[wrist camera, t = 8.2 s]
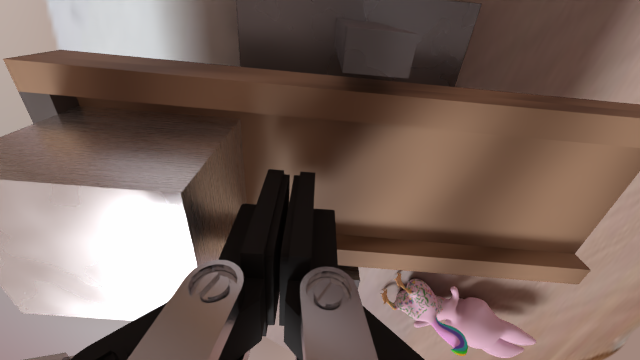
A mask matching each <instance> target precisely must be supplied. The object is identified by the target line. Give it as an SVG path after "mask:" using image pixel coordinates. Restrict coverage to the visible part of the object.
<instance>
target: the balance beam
mask: <svg viewBox="0 0 640 360" xmlns="http://www.w3.org/2000/svg"><path fill="white" fill-rule="evenodd" d="M3 60H4V62H5V64H6V66H7V68H8V70H9V72H10V75H11V77H12V79H13V81H14V83H15V85H16V87H17V90H18V92H19V94H20V96H21V98H22V100H23V102H24V104H25V106H26V108H27V111H28V113H29V115H30V117H31V119H32V121H33V123H34V124H35V123H37V122H40V121H42V120H45V119H47V118H50V117H52V116H55V115H57V114H60V113H63V112H65V111H68V110H70V109H73V108H75V107H78V106H88V107H101V108H113V109H126V110H138V111H150V112H163V113H175V114H188V115H200V116H212V117H225V118H237V119H240V123H241V135H242V148H243V161H244V174H245V187H246V200H247V204H257V201H258V198H259V195H260V192H261V189H262V186H263V183H264V180H265V177H266V175H267V172H268V169H274V170H284V174H287V175H290V190H289V201H290V195H291V190H292V184H293V178H294V175H300V171H301V172H314V173H315V192H314V209H328V210H334V211H335V223H336V241H337V259H338V265H343V266H355V267H368V268H380V269H393V270H405V271H418V272H430V273H443V274H455V275H468V276H480V277H493V278H505V279H518V280H530V281H543V282H555V283H568V284H579V283H580V282H581V281H582V280H583V279H584V277H585V276H586V275H587V274H588V273H589V272H590V269H589V268H588V267H587V266H586V265H585V264H584V263H583V262H582V261H581V260H580V259H579V258H578V257H577V256H576V255H575V253H576V251H577V250H578V249H579V248H580V246H581V245H582V244H583V243H584V241H585V240H586V239H587V237H588V236H589V235H590V234H591V232H592V231H593V230H594V229H595V227H596V226H597V225H598V223H599V222H600V221H601V220H602V218H603V217H604V216H605V215H606V213H607V212H608V211H609V209H610V208H611V207H612V206H613V204H614V203H615V202H616V201H617V199H618V198H619V197H620V196H621V194H622V193H623V192H624V190H625V189H626V188H627V187H628V185H629V184H630V183H631V182H632V180H633V179H634V178H635V176H636V175H637V174H638V173H639V171H640V105H639V104H629V103H618V102H607V101H597V100H586V99H576V98H565V97H554V96H544V95H533V94H523V93H512V92H501V91H491V90H480V89H470V88H459V87H448V86H438V85H427V84H417V83H406V82H396V81H385V80H374V79H364V78H353V77H343V76H332V75H321V74H311V73H300V72H290V71H279V70H268V69H258V68H247V67H237V66H226V65H215V64H205V63H194V62H184V61H173V60H163V59H152V58H141V57H131V56H120V55H110V54H99V53H88V52H78V51H67V50H57V51H50V52H44V53H37V54H31V55H25V56H18V57H12V58H6V59H3Z"/></svg>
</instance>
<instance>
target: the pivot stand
mask: <svg viewBox="0 0 640 360" xmlns="http://www.w3.org/2000/svg"><path fill="white" fill-rule="evenodd" d="M236 2H237V19H238V35H239V52H240V67H247V68H258V69H268V70H279V71H290V72H300V73H311V74H321V75H332V76H343V77H353V78H364V79H374V80H385V81H396V82H406V83H417V84H427V85H438V86H448V87H454V86H455V83H456V80H457V77H458V74H459V71H460V68H461V65H462V62H463V59H464V56H465V53H466V50H467V47H468V44H469V41H470V37H471V34H472V31H473V28H474V25H475V22H476V19H477V16H478V13H479V10H480V7H481V4H477V3H468V2H458V1H448V0H236ZM338 269H340V270H342V271H344V272H345V273H347V274H348V275H349V276H350V277H351V278H352V279H353V280H354V282H355V284H356V286H357V289H358V286H359V282H360V278H359V270H358V267H355V266H343V265H338Z"/></svg>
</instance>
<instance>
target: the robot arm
mask: <svg viewBox="0 0 640 360" xmlns="http://www.w3.org/2000/svg"><path fill="white" fill-rule="evenodd" d="M289 190H290V175H287V174H284V170H274V169H268V172H267V175H266V177H265V180H264V183H263V186H262V189H261V192H260V195H259V198H258V201H257V204H244V203H243V204H242V205H241V207H240V209H239V211H238V214H237V216H236V218H235V221H234V223H233V226H232V228H231V231H230V233H229V235H228V238H227V240H226V243H225V245H224V247H223V250H222V252H221V255H220V257H219V259H218V260H213V261H208V262H206V263H203V264H201V265H199V266H197V267H196V268H194V269H193V270H192V271H191V272H190V273H189V274H188V275H187V276H186V277H185V278H184V280H183V281H182V283H181V284H180V286H179V287H178V288H177V290H176V291H175V293H174V294H173V295H172V297H171V298H170V300H169V301H168V302H166V303H164V304H163V305H161V306H159V307H157V308H155V309H154V310H152V311H150V312H148V313H147V314H145V315H143V316H141V317H139V318H138V319H136V320H134V321H132V322H131V323H129V324H127V325H125V326H124V327H122V328H120V329H118V330H116V331H115V332H113V333H111V334H109V335H107V336H106V337H104V338H102V339H100V340H98V341H97V342H95V343H93V344H91V345H90V346H88V347H86V348H85V349H83V350H82V351H80V352H79V353H78V354H76V355H75V356H70V357H69V356H68V355H67V354H66V353H61V354H55V355H49V356H43V357H37V358H31V359H25V360H248V357H249V353H250V349H251V348H253V347H254V346H255V345H256V344H257V343H259V342H260V341H261V339H262V336H266V333H267V327H268V325H274V324H275V319H276V312H277V306H278V299H279V293H280V315H279V325H281V326H284V342H285V343H286V345H287V346H288V347H289V348H290V350H291V351H292V352H293V353H294V354H295V356H296V357H295V360H424V359H423V358H422V357H421V356H420V355H419V354H418V353H416V352H415V351H414V350H413V349H412V348H411V347H409V346H408V345H407V344H406V343H405V342H404V341H403V340H401V339H400V338H399V337H398V336H397V335H396V334H395V333H393V332H392V331H391V330H390V329H389V328H388V327H386V326H385V325H384V324H383V323H382V322H381V321H380V320H378V319H377V318H376V317H375V316H374V315H373V314H371V313H370V312H369V311H368V310H367V309H366V308H365V307H363V306H362V303H361V299H360V296H359V292H358V289H357V286H356V284H355V282H354V280H353V279H352V278H351V277H350V276H349V275H348V274H347V273H345V272H344V271H342V270H340V269H338V259H337V241H336V223H335V211H334V210H328V209H314V192H315V173H314V172H301V171H300V175H294V178H293V184H292V190H291V195H290V201H289Z"/></svg>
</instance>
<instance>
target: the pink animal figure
mask: <svg viewBox="0 0 640 360" xmlns="http://www.w3.org/2000/svg"><path fill="white" fill-rule="evenodd" d="M397 274H398V276H397V278H396V279H394V280H396V282H397V285H398V286H399V287H398V289H399V288H400V286H401V287H402V288H403V289H405V290H402V291H400V292H399V293H398V294H397V297H396V301H395V302H394V303H392V302H390V301H389V300H388V298H387V295H386V294H387V289H386V291H385V290H384V289H383V290H384V293H383V294H382V293H380V294H382V297H383V301H384V304H383V305H385V303H386V302H387V303H388V304H389V305H390V306H391V307H392V309H393V310H397V309H399V310H401V311H403V312H404V313H406V314H407V315H408V316H409V317H411V318H412V319H414V320H418V321H416V322H414V326H415V327H417V328H418V327H423V326H427V325H432V326H433V327H434V329H435V330H436V331H437V333H438V334H439V335H440V336H441V337H442V338H443V339H444V340H446V341H447V342H448V343H449V344H450V345H451V346H452V347H453V348H454V349H451V350H452V351H453V352H454V353H455V354H457V355H460V356H464V355H466V353H467V349H468V346H470V347H473V348H477V349H483V350H484V351H485V352H487V353H489V354H491V355H493V356H496V357H500V358H509V357H513V356H515V355H517V354H519V353H521V352H522V351H524V348H522V347H519V346H517V345H514V344H518V345H532V344H535V343H536V340H535V339H534V338H533V337H531V336H530V335H528V334H527V333H525V332H524V331H523V330H521V329H520V328H518V327H517V326H515V325H513V324H511V323H509V322H507V321H504V320H502V319H500V318H498V317H497V316H496V315H495V314H494V312H493V311H492V310H491V308H490V307H489V306H488V304H487V303H486V302H485V301H483V300H481V299H478V298H474V297H469V298H466V299H462V298H460V299H459V293H458V289H457V288H456V287H455V286H453V287H451V292H452V297H451V298H450V299H446V298H443V297H441V296H435V295H434V293H433V291H432V290H431V288H430V287H429V286H428V285H427V284H426V283H425V282H424V281H422V280H420V279H411V280H410V281H409V282H408V284H407V287H405V286H404V285H403V284H402V281H401V274H400V272H399V273H398V272H397ZM399 274H400V275H399ZM444 319H446V320H445V324H442V323H440V322H439V321H441V320H444ZM509 342H510V343H509ZM512 343H514V344H512Z"/></svg>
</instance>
